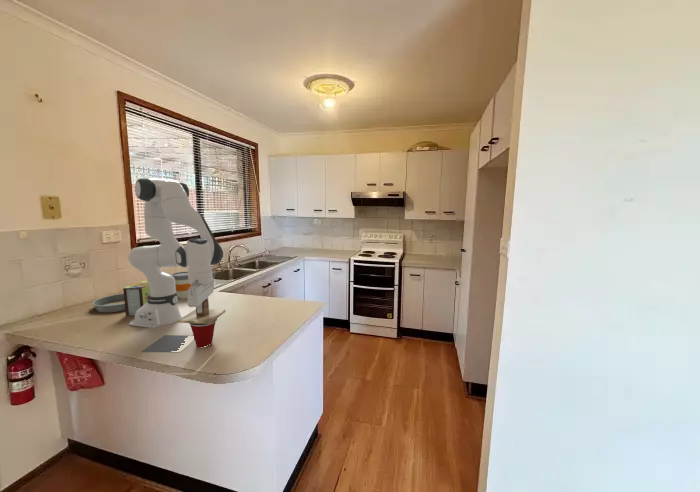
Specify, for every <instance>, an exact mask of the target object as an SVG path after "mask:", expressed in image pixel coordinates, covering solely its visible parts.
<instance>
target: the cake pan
mask: <svg viewBox="0 0 700 492" xmlns="http://www.w3.org/2000/svg"><path fill="white" fill-rule="evenodd" d="M123 301H124V292H123V293H117V294H116V293H115V294H112V295H107V296H103V297H100V298H97V299H95V300H93V301H92V303H91V305H93V306H94V307H95V310H96V311H97V312H99V313H113V312H121V311H126V310H125V301H124V302H123ZM116 302H118V303H116ZM119 302H121V303H119Z"/></svg>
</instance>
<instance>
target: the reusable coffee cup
mask: <svg viewBox="0 0 700 492" xmlns="http://www.w3.org/2000/svg"><path fill="white" fill-rule="evenodd" d="M171 275H172V276H173V277H174V279H175V286H176V292H177V299H188V289H189V287H191V284H189V282H188V271H180V272H174V273H172V274H171Z"/></svg>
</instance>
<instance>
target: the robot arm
mask: <svg viewBox="0 0 700 492" xmlns="http://www.w3.org/2000/svg"><path fill="white" fill-rule="evenodd" d="M134 193H135V196H136V198H137V199H139V200H141V201H144V202H145V203H144V209H143V210H144V212H143V214H144V216H143V217H144V219H143V220H144V232H145V233H146V235H147V236H148V237H151V238H152V239H155V240H157V241H159V243H160V245H143V246H138V247H133V248H132V249H130V251H129V253H128V263H130V265H131V266H132V267H133V268H135V269H137V270H139V271H140V272H141V273H142V274H143V275H144V276H145V278H146V279H147V280H146V281H148V283H149V289H150V295H149V296H148V297H146V299H148V301H147V303H146V304H144V305H143V306H142V307H141V308H139V309H138V310H137V311H136V313H135V316H134V318H133V319H132V320H131V321H130V322H129V325H128V326H134V327H143V328H158V327H161V326H166V325H171V324H173V323H178V320H179V319H181V318H182V315H181V313H180V308H179V306H178V299H179V298H177V292H176V286H175V279H174V277H173V276H172V274H169V273H167V272H164V271H163V270H162V268H170V267H171V268H172V267H181V268H188V270H187V272H188V282H189V284H191V287H189V289H188V298H187V306H188V308H195V309H196V308H197V313H202V312H203V308H202V302H203V301H204V300H208V301H209V297H210V296H211V295H212V294H213V293H214V290H215V280H214V279H215V277H216V273H215V272H213V269H212V268H213V267H212V266H216V265H218V264H220V262H221V261H222V260H223V258H224V250H223V248H222V246H221V244H219V242H218V241H217V239H216V238H215V235H214V234H213V232H212V230H211V228H210V226H209V225H208V222H207V221H206V219H205V217H204V216H203V215H202V214H201V212H198V211H197V210H196V209H195V208H194V207H193V206H192V205H191V202H190V200H189V197H190V189H189V187H188V185H187V184H186V183H185V182H182V181H179V180H173V179H168V178H148V177H143V178H138V179H137V180H136V181H135V184H134ZM172 223H174V224H177V225H183V226H187V227H190V228H192V229H194V230H195V231H196V232H197V233H198V234H199V236H200V237H194V238H189V239H188V240H187V241H186V242H187V243H186V244H182V243H180V242H179V241H178V239H177V238H176V236H175V235H174V232H173V225H172ZM146 299H145V300H146Z"/></svg>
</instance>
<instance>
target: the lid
mask: <svg viewBox="0 0 700 492" xmlns="http://www.w3.org/2000/svg"><path fill="white" fill-rule="evenodd" d="M209 303H210V302H209V299H208V300H204V301H203V302H202V308H203V312H202V313H197V308H196V307H195V309H194V310H192V311H190V312H189V313H187V314H186V315H184V316H183V317H182V316H181V317H182V318H181V319H179V320H178V321H177V323H178V324H179V323H180V324H189V323H203V324H210V323H212V322H213V321H214V320H215V319H217V320H218V318H219V317H221V316H222V315H224V314H225V313H226V309H213V308H212V309H211V308H210V304H209Z"/></svg>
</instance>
